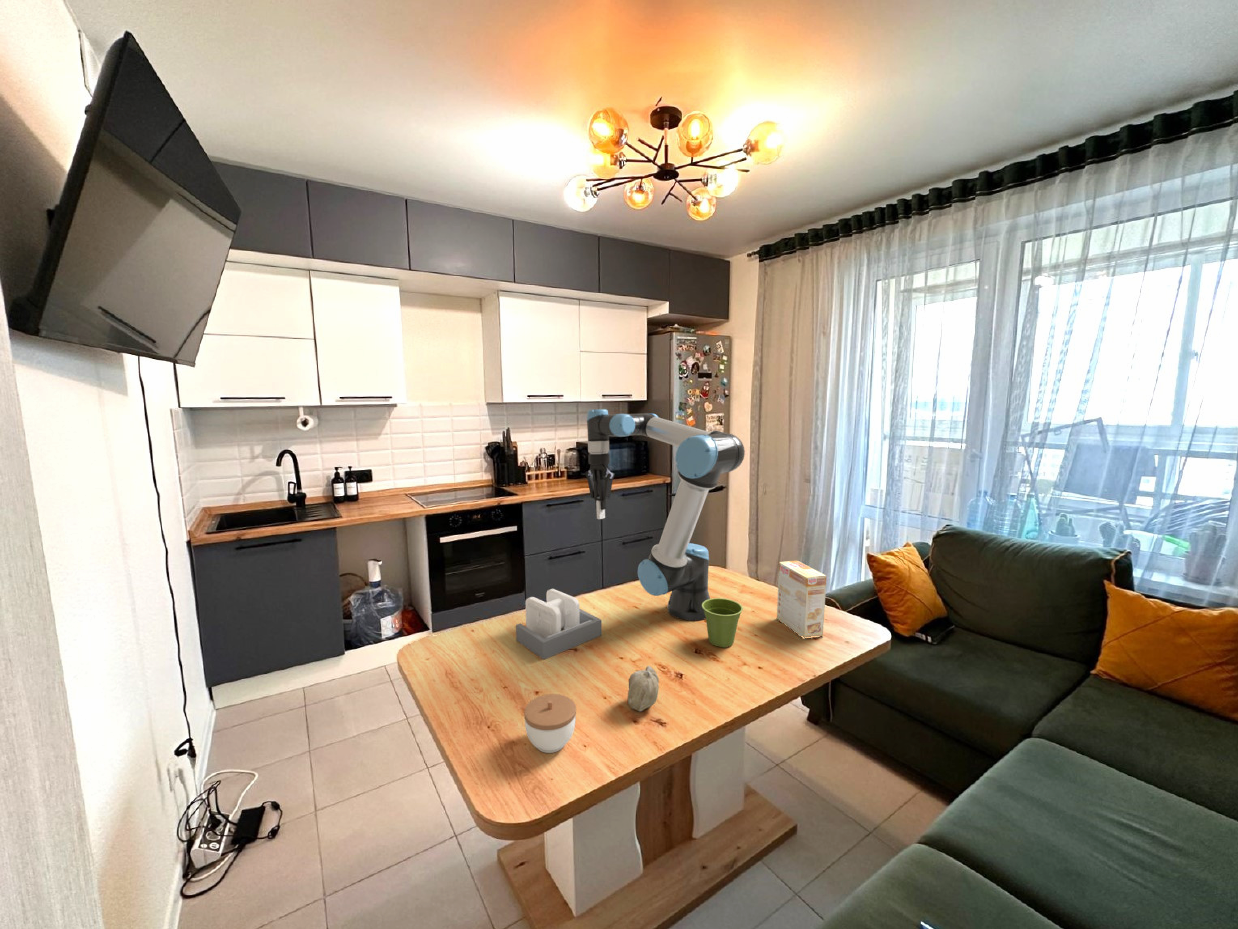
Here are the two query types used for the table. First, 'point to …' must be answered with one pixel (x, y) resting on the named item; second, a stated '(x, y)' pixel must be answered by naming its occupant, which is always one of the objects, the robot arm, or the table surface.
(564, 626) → the cable organizer
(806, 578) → the coffeecake box
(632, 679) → the grey lumpy rounded piece
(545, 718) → the lidded jar
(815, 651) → the table surface
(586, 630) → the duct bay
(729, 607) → the plant pot
